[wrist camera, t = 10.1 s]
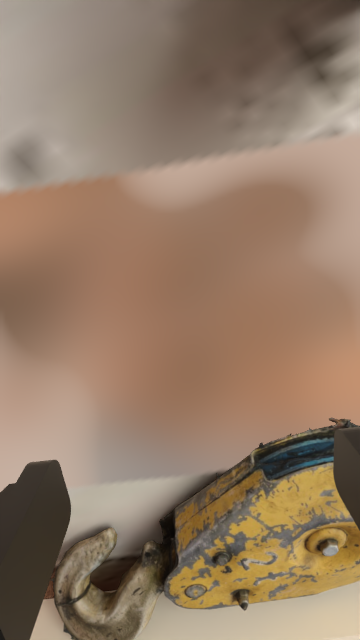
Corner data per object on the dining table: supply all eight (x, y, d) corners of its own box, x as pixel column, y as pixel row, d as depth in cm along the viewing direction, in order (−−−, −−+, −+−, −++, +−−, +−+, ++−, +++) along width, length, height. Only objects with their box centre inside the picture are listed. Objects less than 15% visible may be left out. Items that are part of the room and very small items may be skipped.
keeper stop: (498, 531, 27) (603, 634, 21) (490, 565, 29) (587, 672, 22) (-77, 606, 28) (-154, 731, 21) (-60, 637, 29) (-128, 764, 22)
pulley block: (-28, 610, 19) (500, 435, 17) (9, 512, 24) (416, 369, 22) (90, 689, 25) (484, 571, 23) (99, 599, 31) (422, 494, 28)
